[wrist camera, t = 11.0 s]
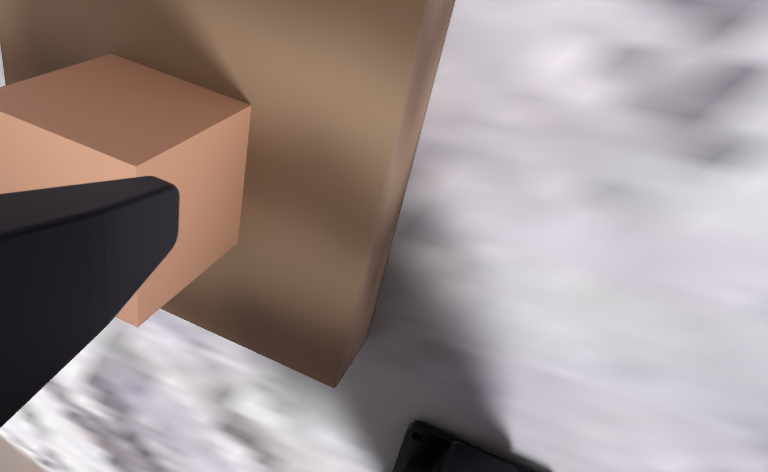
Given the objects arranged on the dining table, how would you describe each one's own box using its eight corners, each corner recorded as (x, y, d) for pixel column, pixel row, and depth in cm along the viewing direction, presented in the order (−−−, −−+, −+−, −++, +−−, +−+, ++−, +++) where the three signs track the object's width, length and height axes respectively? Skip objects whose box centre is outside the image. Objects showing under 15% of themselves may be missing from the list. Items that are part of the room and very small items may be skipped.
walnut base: (366, 339, 25) (334, 388, 23) (81, 215, 28) (26, 247, 26) (460, -23, 18) (429, -9, 15) (58, -144, 20) (-24, -147, 18)
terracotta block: (238, 242, 21) (137, 327, 17) (115, 191, 22) (-7, 259, 18) (251, 105, 19) (135, 166, 14) (111, 53, 20) (-34, 97, 15)
